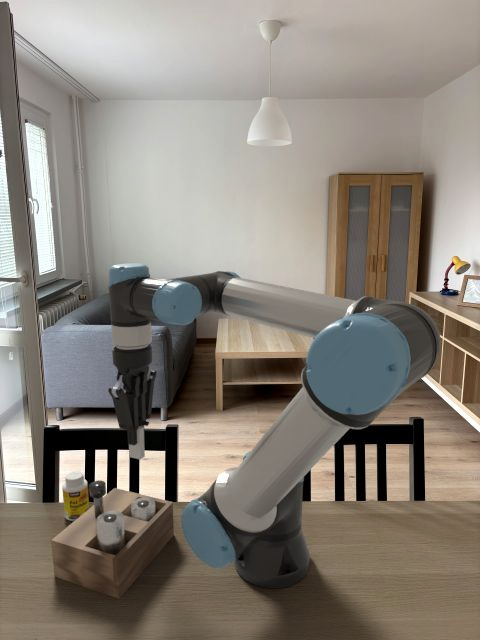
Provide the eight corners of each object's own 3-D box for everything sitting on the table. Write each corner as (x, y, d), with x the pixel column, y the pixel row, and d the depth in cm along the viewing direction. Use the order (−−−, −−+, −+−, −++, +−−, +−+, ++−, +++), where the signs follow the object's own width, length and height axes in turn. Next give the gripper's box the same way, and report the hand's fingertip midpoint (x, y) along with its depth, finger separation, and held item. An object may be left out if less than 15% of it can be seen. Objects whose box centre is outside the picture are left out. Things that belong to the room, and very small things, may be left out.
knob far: (161, 538, 109) (159, 499, 108) (148, 552, 105) (146, 512, 103) (141, 532, 111) (139, 494, 109) (128, 546, 107) (126, 507, 105)
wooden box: (173, 535, 111) (172, 502, 109) (119, 598, 92) (116, 560, 91) (116, 519, 116) (114, 487, 114) (54, 576, 98) (51, 540, 96)
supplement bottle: (68, 525, 114) (65, 484, 112) (61, 513, 119) (58, 473, 116) (92, 517, 117) (90, 476, 115) (85, 505, 122) (82, 466, 119)
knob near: (131, 555, 99) (128, 513, 97) (115, 572, 94) (113, 528, 92) (109, 549, 101) (107, 507, 99) (93, 565, 96) (90, 521, 94)
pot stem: (110, 513, 105) (108, 482, 103) (101, 521, 102) (98, 490, 101) (97, 509, 106) (95, 479, 105) (88, 518, 103) (85, 487, 102)
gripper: (135, 334, 105) (140, 440, 110) (94, 350, 93) (101, 467, 98) (166, 338, 102) (170, 446, 107) (127, 355, 90) (133, 475, 96)
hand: (137, 456), depth 103 cm, fingers closed
